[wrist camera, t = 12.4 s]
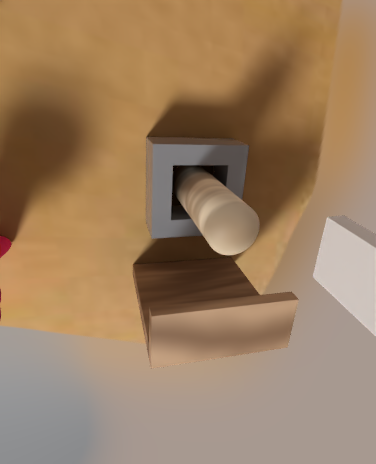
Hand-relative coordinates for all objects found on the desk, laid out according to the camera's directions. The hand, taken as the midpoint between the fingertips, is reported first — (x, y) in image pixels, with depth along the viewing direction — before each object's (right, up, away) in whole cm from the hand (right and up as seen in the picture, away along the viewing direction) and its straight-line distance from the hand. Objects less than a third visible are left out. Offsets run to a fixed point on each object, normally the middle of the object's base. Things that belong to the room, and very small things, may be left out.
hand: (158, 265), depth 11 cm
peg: (+1, +7, +27) cm, 28 cm away
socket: (+1, +7, +27) cm, 28 cm away
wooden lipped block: (+1, -2, +31) cm, 31 cm away
